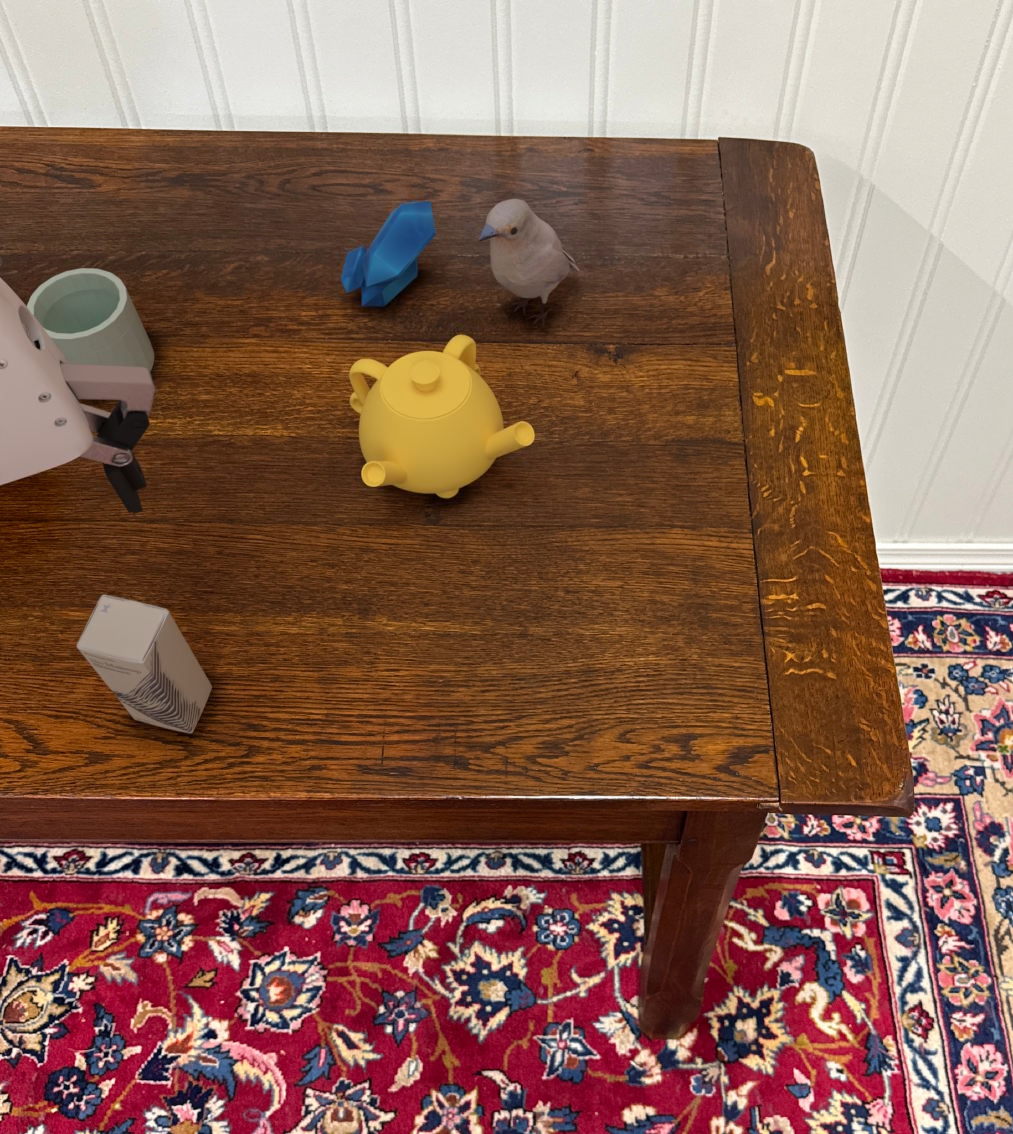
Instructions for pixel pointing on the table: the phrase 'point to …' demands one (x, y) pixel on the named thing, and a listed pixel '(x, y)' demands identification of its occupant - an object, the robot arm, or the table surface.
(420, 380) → the teapot
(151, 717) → the box
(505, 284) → the bird
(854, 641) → the table surface
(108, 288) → the jar
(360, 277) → the crystal
